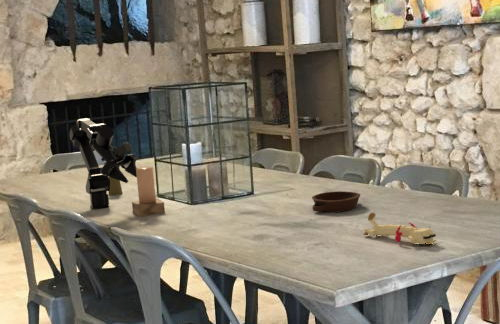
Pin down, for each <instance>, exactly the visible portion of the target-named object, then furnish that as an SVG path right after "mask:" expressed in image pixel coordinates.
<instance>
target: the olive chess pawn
mask: <svg viewBox="0 0 500 324" xmlns="http://www.w3.org/2000/svg"><path fill="white" fill-rule="evenodd" d="M109 179H110V191H108V196H119V195H123V190H122V184H121V181H119V180H117V179H114V178H111V177H109Z"/></svg>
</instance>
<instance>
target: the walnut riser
mask: <svg viewBox="0 0 500 324" xmlns="http://www.w3.org/2000/svg"><path fill="white" fill-rule="evenodd" d="M131 205H132V206H131V207H132V213H133V214H135V215H136V216H137V217H145V216H151V215H157V214H158V215H159V214H165V212H166V210H165V202H164V201H163V200H161V199H159V198H156V202H153V203H146V204H142V203H139V200H135V201H131Z"/></svg>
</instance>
